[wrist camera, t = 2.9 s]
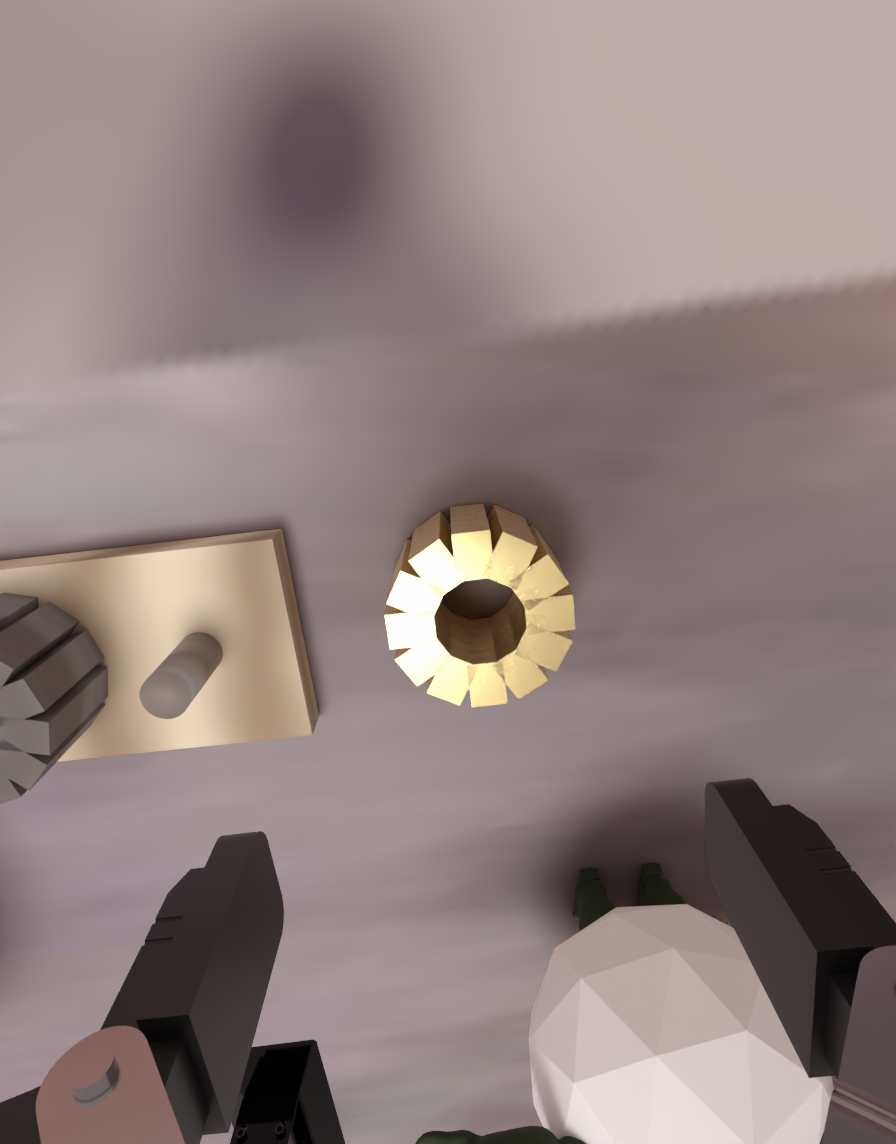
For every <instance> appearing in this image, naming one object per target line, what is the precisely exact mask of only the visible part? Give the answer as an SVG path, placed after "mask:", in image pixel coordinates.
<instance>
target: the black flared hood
mask: <svg viewBox="0 0 896 1144" xmlns="http://www.w3.org/2000/svg"><path fill="white" fill-rule="evenodd" d="M231 1122H232V1125H233V1127H234V1131H233V1135H232V1139H231V1142H230V1144H345V1141H344V1138H343V1134H342V1131H341V1127H340V1124H339V1120H338V1116H337V1113H336V1109H335V1106H334V1102H333V1099H332V1095H331V1092H330V1088H329V1085H328V1081H327V1077H326V1074H325V1070H324V1067H323V1063H322V1060H321V1056H320V1053H319V1049H318V1046H317V1042H316V1041H315V1040H307V1041H299V1042H291V1043H283V1044H275V1045H267V1046H259V1047H251V1051H250V1054H249V1058H248V1062H247V1065H246V1069H245V1073H244V1077H243V1080H242V1084H241V1088H240V1091H239V1095H238V1099H237V1103H236V1106H235V1110H234V1114H233V1117H232V1121H231Z"/></svg>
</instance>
